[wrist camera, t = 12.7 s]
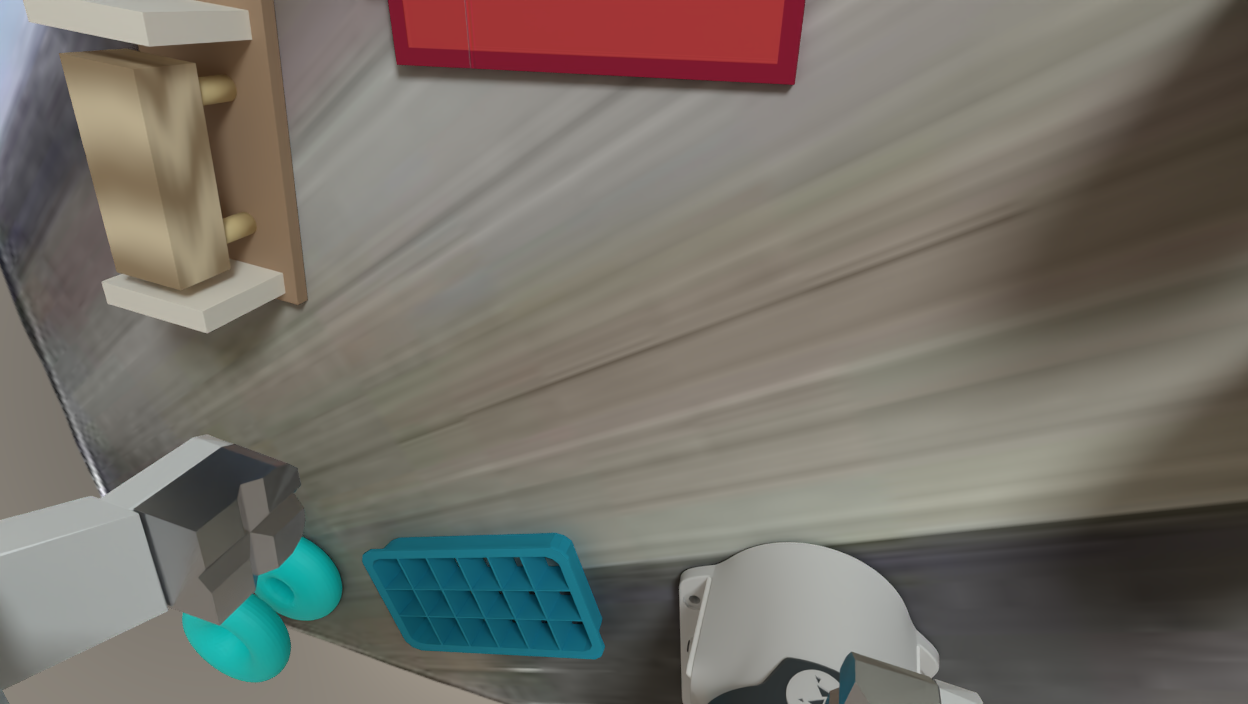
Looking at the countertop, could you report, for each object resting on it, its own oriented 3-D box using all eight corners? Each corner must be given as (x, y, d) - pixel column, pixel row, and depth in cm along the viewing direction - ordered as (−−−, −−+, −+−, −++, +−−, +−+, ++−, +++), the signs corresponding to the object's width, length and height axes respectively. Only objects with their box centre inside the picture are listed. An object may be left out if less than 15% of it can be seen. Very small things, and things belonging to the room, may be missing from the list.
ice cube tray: (618, 630, 57) (607, 660, 55) (427, 624, 65) (410, 649, 62) (577, 521, 53) (563, 547, 50) (377, 528, 61) (356, 551, 58)
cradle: (307, 299, 50) (222, 346, 43) (196, 268, 52) (98, 309, 45) (273, -1, 40) (155, -1, 34) (137, -25, 42) (0, -30, 35)
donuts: (285, 701, 58) (195, 673, 61) (358, 612, 67) (275, 591, 69) (254, 620, 54) (158, 593, 56) (336, 535, 62) (249, 516, 65)
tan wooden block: (126, 48, 40) (59, 53, 37) (195, 63, 39) (132, 69, 36) (170, 252, 47) (116, 272, 43) (231, 268, 46) (180, 290, 42)
